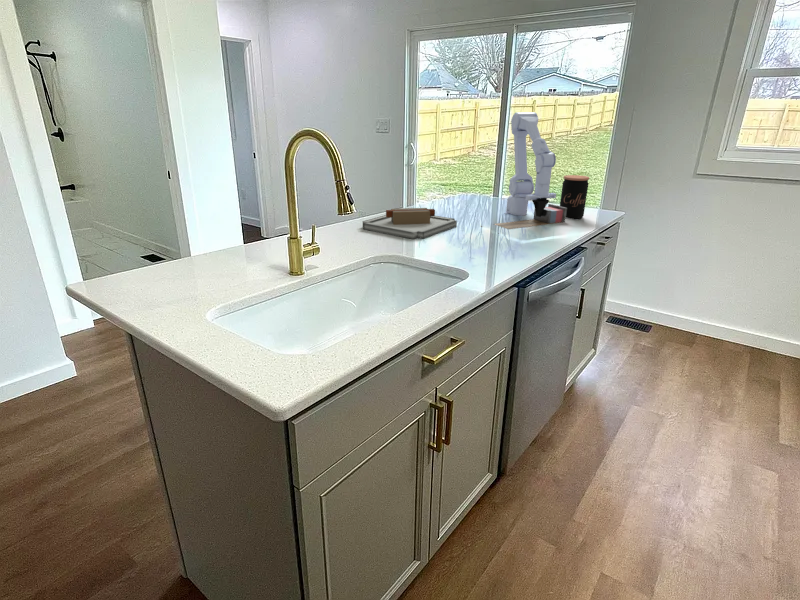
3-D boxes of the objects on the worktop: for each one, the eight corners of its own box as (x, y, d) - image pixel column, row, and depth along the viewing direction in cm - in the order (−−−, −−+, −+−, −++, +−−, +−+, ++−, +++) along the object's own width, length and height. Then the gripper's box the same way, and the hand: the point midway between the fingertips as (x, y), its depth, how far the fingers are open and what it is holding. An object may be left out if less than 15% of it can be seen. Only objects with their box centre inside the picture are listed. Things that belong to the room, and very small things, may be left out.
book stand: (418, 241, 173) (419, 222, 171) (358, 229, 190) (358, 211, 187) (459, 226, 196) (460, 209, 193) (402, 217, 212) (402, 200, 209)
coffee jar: (558, 219, 207) (563, 177, 200) (558, 214, 216) (563, 174, 209) (583, 220, 204) (590, 178, 197) (582, 215, 213) (588, 175, 206)
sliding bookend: (533, 219, 201) (534, 207, 199) (535, 218, 202) (536, 206, 200) (547, 223, 194) (549, 210, 192) (549, 223, 194) (551, 210, 192)
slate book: (535, 219, 201) (537, 208, 200) (542, 218, 203) (543, 207, 201) (548, 223, 195) (550, 211, 193) (555, 222, 196) (556, 210, 194)
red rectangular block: (542, 218, 203) (543, 207, 201) (548, 217, 204) (549, 206, 202) (555, 222, 196) (556, 210, 194) (561, 221, 198) (563, 210, 196)
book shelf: (493, 226, 194) (494, 209, 191) (548, 219, 206) (550, 203, 203) (508, 231, 186) (509, 214, 183) (565, 224, 198) (567, 207, 195)
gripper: (535, 186, 185) (531, 219, 190) (563, 183, 191) (558, 216, 196) (523, 183, 191) (520, 216, 196) (550, 181, 197) (546, 213, 202)
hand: (538, 216), depth 196 cm, fingers closed
